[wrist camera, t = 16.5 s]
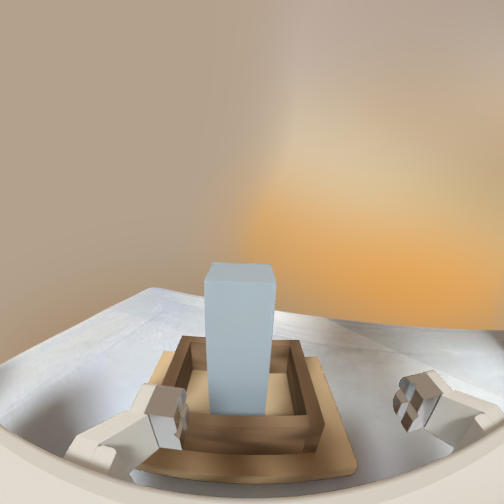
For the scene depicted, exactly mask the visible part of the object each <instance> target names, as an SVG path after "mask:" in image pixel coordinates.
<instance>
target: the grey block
mask: <svg viewBox="0 0 504 504" xmlns="http://www.w3.org/2000/svg"><path fill="white" fill-rule="evenodd" d="M204 289H205V290H204V292H205V331H206V355H207V375H208V391H209V405H210V414H216V415H232V416H265V409H266V399H267V389H268V379H269V368H270V357H271V345H272V333H273V321H274V308H275V293H276V280H275V277H274V274H273V270H272V267H271V265H270V264H243V263H217V262H213V264H212V266H211V268H210V270H209V272H208V274H207V276H206V278H205V280H204Z"/></svg>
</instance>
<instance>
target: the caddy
mask: <svg viewBox="0 0 504 504" xmlns="http://www.w3.org/2000/svg"><path fill="white" fill-rule="evenodd" d="M148 384H154V385H163V386H170V387H177V388H184V389H185V390H186V395H187V397H186V401H185V402H186V403H187V404H188V407H189V423H188V428H187V429H186V430H184V433H185V440H184V445H183V449H182V450H177V449H169V448H162V447H159V449H158V450H157V451H155V452H154V453H153V454H152V455H151V456H149V457H148V458H147V459H146V460H145V461H143V462H142V463H141V464H140V465H139V466H137V467H136V468H135V469H138V470H143V471H147V472H151V473H156V474H161V475H167V476H172V477H178V478H185V479H192V480H201V481H210V482H223V483H245V484H268V483H290V482H303V481H312V480H321V479H328V478H335V477H341V476H346V475H352V474H353V473H354V472H355V470H356V468H357V467H358V464H357V461H356V459H355V456H354V453H353V450H352V447H351V445H350V442H349V439H348V436H347V434H346V431H345V428H344V426H343V423H342V420H341V417H340V415H339V412H338V409H337V407H336V404H335V401H334V399H333V396H332V393H331V391H330V388H329V386H328V383H327V380H326V378H325V375H324V372H323V370H322V367H321V365H320V362H319V360H318V357H304V354H303V351H302V348H301V345H300V342H299V340H272V345H271V357H270V368H269V379H268V389H267V399H266V409H265V416H232V415H216V414H210V405H209V391H208V375H207V355H206V337H193V336H182V338H181V340H180V342H179V344H178V347H177V349H176V351H175V352H170V351H164V352H163V354H162V356H161V358H160V360H159V362H158V364H157V366H156V368H155V370H154V372H153V374H152V376H151V378H150V380H149V382H148Z"/></svg>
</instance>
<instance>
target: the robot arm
mask: <svg viewBox="0 0 504 504" xmlns="http://www.w3.org/2000/svg"><path fill="white" fill-rule="evenodd" d="M399 387H400V390H399V391H398V392H397V393H396V394H395V396H394V399H393V407H394V411H395V413H396V414H397V415H398V416H400V417H402V420H401V423H402V425H403V426H404V428H405V430H406V432H407V433H408V432H411V431H415V430H418V429H422V428H424V429H425V430H427V431H428V432H430V433H431V434H433V435H435V436H436V437H438V438H439V439H441V440H442V441H444V442H446V443H447V444H449V445H450V446H452V447H454V449H453V451H452V452H451V454H450V455H448V456H446V457H444V458H441V459H439V460H437V461H434V462H432V463H430V464H427V465H425V466H422V467H420V468H417V469H414V470H411V471H409V472H406V473H403V474H400V475H397V476H394V477H390V478H387V479H384V480H380V481H377V482H373V483H369V484H365V485H361V486H356V487H352V488H347V489H342V490H337V491H331V492H325V493H318V494H310V495H301V496H291V497H275V498H229V497H213V496H203V495H194V494H186V493H179V492H173V491H167V490H162V489H157V488H152V487H147V486H143V485H139V484H135V483H134V481H133V479H132V478H131V476H130V475H129V473H130V472H131V471H132V470H134V469H135V468H136V467H137V466H139V465H140V464H141V463H142V462H143V461H145V460H146V459H147V458H148V457H149V456H151V455H152V454H153V453H154V452H155V451H157V450H158V449H159V447H162V448H169V449H177V450H182V449H183V445H184V440H185V433H184V430H186V429H187V428H188V423H189V407H188V404H187V403H186V402H185V401H186V397H187V395H186V390H185V389H184V388H177V387H170V386H163V385H154V384H148V383H144V384H143V385H142V387H141V388H140V390H139V392H138V394H137V396H136V398H135V400H134V402H133V404H132V406H131V408H130V410H129V411H126V410H125V411H123V412H121V413H120V414H118V415H116V416H114V417H112V418H110V419H108V420H106V421H104V422H102V423H100V424H99V425H97V426H95V427H93V428H91V429H89V430H86V431H84V432H82V433H80V434H78V435H76V437H75V439H74V440H73V442H72V444H71V445H70V447H69V449H68V450H67V452H66V454H65V455H64V457H63V458H60V457H58V456H56V455H54V454H52V453H50V452H48V451H46V450H44V449H42V448H40V447H38V446H36V445H34V444H32V443H30V442H28V441H27V440H25V439H23V438H21V437H20V436H18V435H16V434H15V433H13V432H11V431H10V430H8V429H7V428H5V427H4V426H2V425H1V424H0V504H504V413H503V411H502V410H501V409H500V408H499V407H498V406H497V405H495V404H493V403H490V402H487V401H484V400H481V399H478V398H476V397H473V396H470V395H468V394H465V393H462V392H460V391H457V390H454V391H453V390H452V389H451V388H450V387H449V386H448V384H447V383H446V382H445V381H444V380H443V379H442V378H441V377H440V376H439V375H438V373H437V372H436V371H434V370H431V371H427V372H423V373H420V374H416V375H411V376H407V377H403V378H402V379H401V380H400V383H399Z"/></svg>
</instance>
